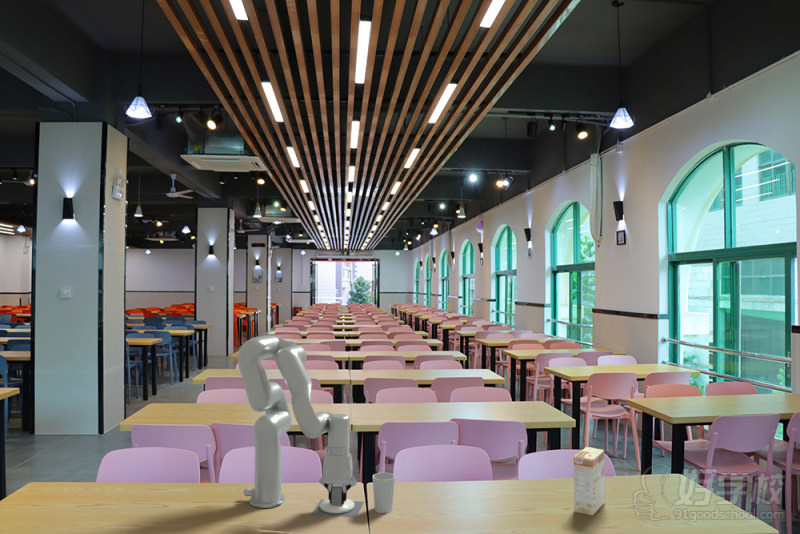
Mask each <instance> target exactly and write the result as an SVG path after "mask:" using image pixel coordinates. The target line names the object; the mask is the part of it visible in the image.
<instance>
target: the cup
mask: <svg viewBox="0 0 800 534" xmlns="http://www.w3.org/2000/svg"><path fill="white" fill-rule="evenodd" d="M395 481H396V475H395V474H393V473H391V472H377V473H373V475H372V488H373V502H374V503H373V505H374V509H373V510H374V511H375V512H376V513H380V514H387V513H390V512H392V511H393V503H394V492H395V483H396V482H395Z"/></svg>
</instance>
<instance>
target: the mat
mask: <svg viewBox="0 0 800 534" xmlns="http://www.w3.org/2000/svg"><path fill="white" fill-rule="evenodd" d="M324 500H326V499H322V498H321V499H320V500H319V502H318V503H317V504H316V506H315V508H314V509H313V511H311V513H310V515H311V516H312V515H313V516H328V517H329V516H330V517H348V518H357V517H358V515H359V513H360V511H361V509H362V508H363V505H364V503H365V502H364V501H355V500H352V501H353V502H354V509H353V510H351V511H349V512H346V513H341V514H332V513H327V512H324V511H322V510H321V509H320V503H321V502H322V501H324Z"/></svg>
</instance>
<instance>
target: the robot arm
mask: <svg viewBox="0 0 800 534" xmlns="http://www.w3.org/2000/svg"><path fill="white" fill-rule="evenodd" d="M305 350H306V349H304V348H303V347H302V346H301V345H298V344H297V343H294V342H291V341H289V340H287V339H284V338H282V337H279V336H276V335H271V334H270V335H267V334H266V335H261V336H255V337H253V338H250V339H248V340H247V341H245V342H244V343H243V344H242V345H241V347H240V348H239V350H238V353H237V365H238V368H239V371H240V374H241V375H240V376H241V378H242V381H243V385H244V390H245V392H246V393H245V394H246V397H247V400H248V404H249V406H250V408H251V409H252V411H254V412H257V413H261V412H265V414H263V415H261V416H260V417H258V418H257V420H256V421H255V422H254V425H253V428H252V434H253V435H252V436H253V443H254V486H253V487H252V488H244V490H243V494H244V497H248V496H249V497H250V499H249V505H250V506H253V507H254V508H260V509H268V508H269V509H270V508H274V507H278V506H281V505H282V504H284V503H285V502H286V496H285V495H284V494H282V444H281V441H280V437H281V436H283V435H284V434H286V433H288V431H289V430H290V428H291V426H292V415H291V411H290V409H289V405H288V401H287V398H286V394H285V392H284V389H283V388H282V386H280V384H278V383H276V382H274V381H269V379H268V377H267V372H266V370H265V368H264V367H263V365H262V363H261V361H262V360H266V359H270V358H271V359H274V360H275V363H276V366H277V367H278V370H279V372H280V374H281V377H282V378H283V380H284V382H285V384H286V386H287V389H288V390H289V393H290V397H291V398H290V400H291V406H292V412H293V415H294V416H293V417H294V418H295V420H296V422H297V424H298V426H299V429H300V430H301V432H302V433H303V434H304V435H305V437H307V438H309V439H316V438H319V437H321V436H322V435H323V434H325V433H327V434H328V437H327V438H328V440H327V443H328V444H327V445H324V446H323V450H325V451H326V454H325V455H324V460H323V461H324V462H323V469H322V470H323V471H322V476H321V477H320V479H319V480H318V483H320V484H321V485H322V486H323V487H324V488H325V489H326V490H327V492H328V496H327V497H328V498H327V499H328V500H330V503H331V499H332V487H333V486H334V485H342V487H343V491H342V499H341V504H344V502H345V501H346V499H348V498H347V497H348V496H347V493H348V491H349V490H350V489H351V488H353V487H355V486H356V485H357V484H358V482H357V480H356V478H355V476H354V471H353V470H354V469H353V458H352V453H351V452H350V437H351V436H350V432H351V431H350V430H351V419H350V418H351V417H350V416H349V415H348V414H346V413H332V412H329V411H325V410H323V411H317V412H315V410H314V407H313V405H312V402H311V401H312V400H311V392H312V388H313V381H312V378H311V377H310V375H309V373H308V372H307V369H306V367H305V364H306V361H307V356H308V355H307V353H306V351H305Z"/></svg>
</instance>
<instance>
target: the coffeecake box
mask: <svg viewBox="0 0 800 534" xmlns="http://www.w3.org/2000/svg"><path fill="white" fill-rule="evenodd" d="M605 503H606V500H605V450H604V449H600V448H595V447H589V446H585V447H584V448H583V449H581V450H580V451H579V452H578V453H576V454H575V455H574V456H573V512H575V513H579V514H584V515H588V516H592V517H593V516H594V515H595V514H596V513H597V512H598V511H599V510H601V508H602V506H604V505H605Z"/></svg>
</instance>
